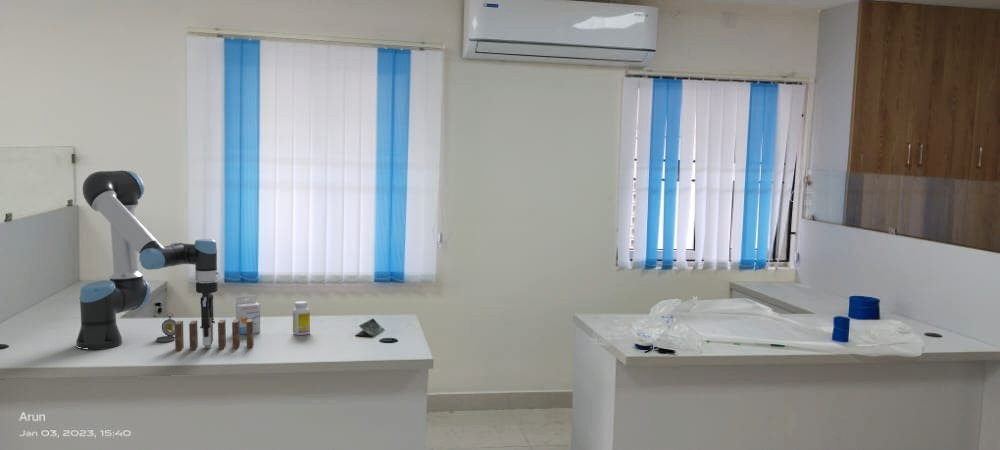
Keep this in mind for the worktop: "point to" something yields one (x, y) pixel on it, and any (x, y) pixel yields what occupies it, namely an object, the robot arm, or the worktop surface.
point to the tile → (211, 332)
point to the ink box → (248, 312)
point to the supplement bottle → (301, 318)
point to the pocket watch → (166, 328)
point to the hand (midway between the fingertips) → (208, 343)
